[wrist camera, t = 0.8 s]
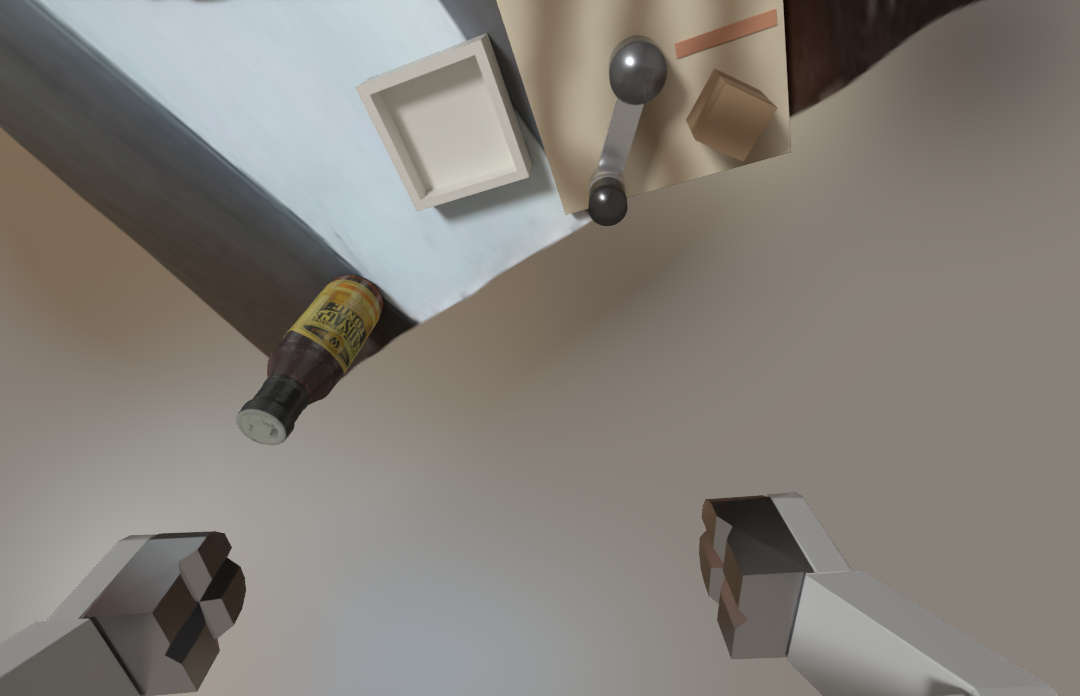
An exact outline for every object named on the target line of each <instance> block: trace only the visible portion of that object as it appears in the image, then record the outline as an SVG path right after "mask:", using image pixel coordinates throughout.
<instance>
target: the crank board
mask: <svg viewBox="0 0 1080 696" xmlns="http://www.w3.org/2000/svg"><path fill="white" fill-rule="evenodd" d="M497 4H498V7H499V10H500V13H501V16H502V19H503V22H504V25H505V28H506V31H507V34H508V38H509V41H510V44H511V47H512V50H513V53H514V56H515V59H516V62H517V65H518V68H519V72H520V75H521V78H522V81H523V84H524V87H525V90H526V93H527V96H528V99H529V103H530V106H531V109H532V112H533V115H534V118H535V121H536V124H537V127H538V130H539V133H540V137H541V140H542V143H543V146H544V149H545V152H546V155H547V158H548V161H549V164H550V167H551V171H552V174H553V177H554V180H555V183H556V186H557V189H558V192H559V195H560V198H561V201H562V205H563V208H564V211H565V214H566V215H567V214H571V213H575V212H578V211H582V210H585V209H588V207H589V180H590V177H591V175H592V173H593V172H594V171H595V170H596V168H597V164H598V161H599V157H600V153H601V150H602V146H603V142H604V138H605V135H606V131H607V127H608V124H609V120H610V116H611V113H612V109H613V105H614V101H615V98H616V95H615V94H614V92H613V91H612V88H611V85H610V80H609V60H610V57H611V54H612V52H613V50H614V49H615V47H616V46H617V45H618V44H619V43H620V42H621V41H623V40H624V39H626V38H628V37H631V36H635V35H642V36H646V37H648V38H650V39H652V40H653V41H654V42H655V43H656V44H657V45H658V46H659V48H660V50H661V52H662V54H663V56H664V58H665V60H666V64H667V78H666V81H665V84H664V86H663V88H662V90H661V91H660V93H659V94H658V95H657V96H656V97H655V98H654V99H652V100H651V101H649V102H647V103H645V104H644V105H643V109H642V112H641V115H640V119H639V122H638V125H637V128H636V132H635V135H634V138H633V142H632V145H631V148H630V151H629V155H628V158H627V161H626V165H625V168H624V171H623V176H624V180H625V189H626V198H628V197H632V196H635V195H639V194H643V193H646V192H650V191H653V190H657V189H661V188H664V187H668V186H671V185H675V184H678V183H682V182H686V181H689V180H693V179H696V178H700V177H704V176H707V175H711V174H714V173H718V172H721V171H725V170H729V169H732V168H736V167H739V166H743V165H747V164H750V163H754V162H757V161H761V160H764V159H768V158H771V157H775V156H779V155H782V154H786V153H790V152H791V139H790V120H789V102H788V83H787V65H786V46H785V28H784V9H783V0H497ZM714 68H715V69H717V70H719V71H721V72H723V73H725V74H727V75H729V76H731V77H733V78H735V79H738V80H740V81H742V82H744V83H746V84H748V85H750V86H752V87H754V88H756V89H758V90H760V91H761V92H762V93H763V94H764V95H765V96H766V97H767V98H768V99H769V100H770V101H771V102H772V103H773V104H774V105H775V106H776V107H777V110H776V112H775V113H774V115H773V116H772V118H771V119H770V121H769V122H768V124H767V126H766V127H765V129H764V130H763V132H762V133H761V135H760V137H759V138H758V140H757V141H756V143H755V144H754V146H753V147H752V149H751V151H750V152H749V154H748V155H747V157H746V158H745V160H744V161H740V160H738V159H736V158H734V157H732V156H729V155H727V154H725V153H723V152H720V151H718V150H716V149H714V148H712V147H709V146H707V145H705V144H703V143H701V142H698V141H696V140H695V139H694V137H693V134H692V132H691V130H690V128H689V126H688V124H687V121H686V119H687V117H688V115H689V114H690V112H691V110H692V108H693V106H694V104H695V103H696V101H697V99H698V97H699V95H700V93H701V92H702V90H703V88H704V86H705V84H706V82H707V81H708V79H709V77H710V75H711V73H712V71H713V70H714Z"/></svg>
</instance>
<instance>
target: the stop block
mask: <svg viewBox="0 0 1080 696" xmlns="http://www.w3.org/2000/svg"><path fill="white" fill-rule="evenodd" d="M776 110H777V107H776V106H775V105H774V104H773V103H772V102H771V101H770V100H769V99H768V98H767V97H766V96H765V95H764V94H763V93H762V92H761V91H760V90H758V89H756V88H754V87H752V86H750V85H748V84H746V83H744V82H742V81H740V80H738V79H735V78H733V77H731V76H729V75H727V74H725V73H723V72H721V71H719V70H717V69H715V68H714V70H713V71H712V73H711V75H710V77H709V79H708V81H707V82H706V84H705V86H704V88H703V90H702V92H701V93H700V95H699V97H698V99H697V101H696V103H695V104H694V106H693V108H692V110H691V112H690V114H689V115H688V117H687V119H686V121H687V124H688V126H689V128H690V130H691V132H692V134H693V137H694V139H695V140H696V141H698V142H701V143H703V144H705V145H707V146H709V147H712V148H714V149H716V150H718V151H720V152H723V153H725V154H727V155H729V156H732V157H734V158H736V159H738V160H740V161H744V160H745V158H746V157H747V155H748V154H749V152H750V151H751V149H752V147H753V146H754V144H755V143H756V141H757V140H758V138H759V137H760V135H761V133H762V132H763V130H764V129H765V127H766V126H767V124H768V122H769V121H770V119H771V118H772V116H773V115H774V113H775V112H776Z"/></svg>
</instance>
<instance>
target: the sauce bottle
mask: <svg viewBox="0 0 1080 696" xmlns="http://www.w3.org/2000/svg"><path fill="white" fill-rule="evenodd" d="M382 309H383V300H382V297H381V294H380V293H379V290H378V289H377V288H376V287H375V286H374V285H373V284H372V283H370V282H369V281H367V280H365V279H363V278H360V277H359V276H356V275H347V276H342V277H338V278H336V279H334V280H333V281H332V282H331V283H329V284H328V285H327V286H326V287H325V288H324V289H323V291H322V292H321V293H320V294H319V295H318V296H317V298H316V299H315V300H314V301H313V303H312V304H311V305H310V306H309V307H308V308H307V310H306V311H305V312H304V313H303V314H302V316H301V317H300V318H299V319H298V320H297V321H296V323H295V324H294V325H293V326H292V327H291V328H290V330H289V331H288V332H287V333H286V334H285V336H284V337H283V340H282V341H281V342H280V343H279V344H278V345H277V346H276V348H275V349H274V350H273V351H272V353H271V355H270V357H269V360H268V369H267V370H268V371H267V375H268V379H267V380H266V381H265V382H264V384H263V386H262V388H261V389H260V390H259V391H258V393H257V394H256V395H255V397H254V398H253V399H252V400H250V401H248V402H247V403H246V404H245V405H244V406H243V407H242V409H241V411H240V412H239V413H238V415H237V418H236V421H237V425H238V427H239V429H240V430H241V431H242V432H243V434H244V435H246V436H247V437H249V438H250V439H252V440H253V441H255V442H258V443H261V444H267V445H277V444H280V443H282V442H283V441H284V440H285V439H286V438H287V437H288V436H289V434H290V433H291V432H292V431H293V429H294V423H295V421H296V420H297V418H298V416H299V415H300V414H301V412H302V411H303V410H304V409H305V408H306V407H307V405H309V404H311V403H314V402H316V401H318V400H321V399H323V398H325V397H326V396H327V395H328V394H329V393H330V391H331V390H332V388H333V387H334V386H335V385H336V384H337V382H338V381H339V380H340V379H341V377H342V376H343V375H344V374H345V372H346V371H347V369H348V368H349V366H350V364H351V363H352V361H353V360H354V358H355V357H356V355H357V354H358V352H359V350H360V349H361V347H362V346H363V344H364V342H365V341H366V339H367V338H368V336H369V335H370V333H371V332H372V330H373V328H374V327H375V325H376V324H377V322H378V320H379V317H380V315H381V312H382Z"/></svg>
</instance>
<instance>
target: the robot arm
mask: <svg viewBox="0 0 1080 696" xmlns="http://www.w3.org/2000/svg"><path fill="white" fill-rule="evenodd" d="M702 520H703V522H704V524H705V527H706V531H705V532H704V533H703V535H702V536H701V537H700V545H699V556H700V566H701V572H702V576H703V580H704V583H705V586H706V589H707V592H708V595H709V596H710V597H711V598H712V599H713V600H715V601H716V602H717V603H718V604H719V607H718V617H717V621H718V623H719V626H720V629H721V632H722V635H723V637H724V640H725V643H726V646H727V648H728V651H729V654H730V657H731V659H749V658H779V657H787V661H788V662H789V663H790V664H791V665H792V666H793V667H794V668H795V669H796V670H797V671H798V672H800V674H801V675H802V676H803V677H804V678H806V680H807V681H809V682H810V683H811V684H812V685H813V686H814V687H815V688H816V689H817V690H818V691H819V692H820V693H821V694H822V695H823V696H1058V694H1056V692H1055V691H1054V690H1053V689H1052V687H1051V686H1049V685H1047V684H1046V683H1044V682H1042V681H1041V680H1039V679H1038V678H1036V677H1034V676H1033V675H1031V674H1029V673H1028V672H1026V671H1024V670H1023V669H1021V668H1020V667H1018V666H1017V665H1015V664H1013V663H1012V662H1010V661H1008V660H1007V659H1005V658H1004V657H1002V656H1000V655H999V654H997V653H996V652H994V651H992V650H991V649H989V648H987V647H986V646H984V645H982V644H981V643H979V642H978V641H976V640H974V639H973V638H971V637H969V636H968V635H966V634H965V633H963V632H962V631H960V630H958V629H957V628H955V627H954V626H952V625H950V624H949V623H947V622H945V621H944V620H942V619H940V618H939V617H937V616H936V615H934V614H933V613H931V612H929V611H928V610H926V609H924V608H923V607H921V606H920V605H918V604H916V603H915V602H913V601H912V600H910V599H908V598H907V597H905V596H903V595H902V594H900V593H899V592H897V591H895V590H894V589H892V588H890V587H889V586H887V585H886V584H884V583H882V582H881V581H879V580H878V579H876V578H874V577H873V576H871V575H869V574H868V573H866V572H865V571H863V570H852V569H851V568H850V566H849V565H848V563H847V562H846V560H845V559H844V557H843V556H842V554H841V553H840V552H839V550H838V548H837V547H836V546H835V544H834V543H833V541H832V540H831V538H830V537H829V535H828V534H827V532H826V531H825V529H824V528H823V526H822V525H821V523H820V522H819V520H818V519H817V518H816V516H815V515H814V513H813V512H812V510H811V509H810V507H809V506H808V504H807V503H806V501H805V500H804V499H803V497H802V496H801V495H799V494H798V493H796V492H793V493H782V494H768V495H765V496H763V495H759V496H745V497H732V498H718V499H706V500H705V502H704V504H703V509H702ZM231 548H232V547H231V545H230V543H229V541H228V539H227V537H226V535H225V533H220V532H216V531H214V532H191V533H190V532H189V533H164V534H158V535H130V536H128V537H126V538H124V539H122V540H120V541H118V542H117V543H116V544H115V545H114V546H113V548H112V549H111V550H110V551H109V552H108V553H107V554H106V555H105V556H104V557H103V559H102V560H101V561H100V562H99V563H98V564H97V565H96V566H95V567H94V568H93V569H92V571H91V572H90V573H89V574H88V575H87V576H86V577H85V578H84V579H83V580H82V582H81V583H80V584H79V585H78V586H77V587H76V588H75V589H74V590H73V592H72V593H71V594H70V595H69V596H68V597H67V598H66V599H65V600H64V601H63V602H62V604H61V605H60V606H59V607H58V608H57V609H56V610H55V611H54V612H53V614H52V615H51V616H50V617H49V618H48V619H47V620H46V621H42V622H35V623H33V624H31V625H30V626H28V627H26V628H25V629H23V630H22V631H20V632H18V633H17V634H15V635H13V636H12V637H10V638H8V639H7V640H5V641H3V642H2V643H0V696H155V695H166V694H177V693H186V692H187V693H188V692H197V691H198V689H199V687H200V685H201V684H202V682H203V680H204V678H205V676H206V675H207V673H208V671H209V669H210V667H211V666H212V664H213V662H214V660H215V658H216V657H217V655H218V653H219V651H220V649H219V644H218V639H217V638H219V637H220V636H221V635H222V634H223V633H225V632H226V631H227V630H228V629H230V628H231V627H232V626H233V625H234V624H235V622H236V620H237V618H238V616H239V614H240V612H241V610H242V607H243V603H244V598H245V593H246V585H245V577H244V575H243V572H242V570H241V567H240V566H238V565H237V564H236V563H234V562H233V561H231V560H230V559H228V558H227V557H228V555H229V552H230V550H231Z"/></svg>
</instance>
